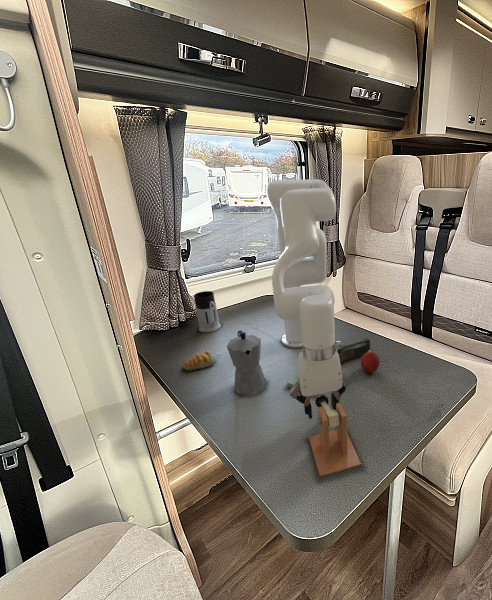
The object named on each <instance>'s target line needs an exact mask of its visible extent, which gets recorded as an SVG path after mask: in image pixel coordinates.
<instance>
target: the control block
mask: <svg viewBox="0 0 492 600" xmlns="http://www.w3.org/2000/svg"><path fill="white" fill-rule="evenodd" d="M297 381H298V372H297V373H296V374H295V375H293V377H292V378H290V379H289V380H288V381H287V382H286V385H287V387H288V388H290V389H291V388H292V387H293V386H294V385H295V384H296V382H297ZM299 391H300V392H301V389H300V390H299Z"/></svg>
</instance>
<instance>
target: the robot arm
mask: <svg viewBox="0 0 492 600" xmlns="http://www.w3.org/2000/svg"><path fill="white" fill-rule="evenodd" d="M265 193H266V199H267V201H268V203H269V205H270V207H271V209H272V211H273V213H274V216H275V218H276V225H277V226H276V227H277V238H278V247H279V252H280V254H281V255H279V257H278V259H277V260H276V262H275V264H274V267H273V270H272V276H271V286H272V295H273V303H274V309H275V313H276V314H277V317H279V318H280V319H282V320H283V323H284V334H283V335H282V336H281V343H282V344H283V345H284V346H286V347H288V348H294V349H295V348H296V349H297V348H301V349H302V351H300V352H299V354H298V361H297V373H298V381H297V382H296V384H295V385H294V386H293V387H292V388H291V387H290V389H289V391H288V393H289V395H288V396H289V397H290V398H292V399H295V400H297V401H298V403H300V404H303V409H304V410H303V411H304V414H305V415H306V416H308V419H309V420H312V419H313V411H312V410H313V409H312V404H311V400H312V397H313V396H319V395H324V394H327V393H331V394H330V403H331V404H330V405H331V408H332V410H336V403H340V399H341V397H342V395H343V394H344V393H345V391H346V390H347V389H348V388H349V387H350V386H351V384H352V380H351V379H350V378H349V377H348V376H346V375H345V374H344V373H343V372H342V366H341V365H342V364H341V362H340V359H339V355H338V352H337V350H338V348H340V347H342V341H341V340H336V337H335V336H336V332H335V329H336V328H335V294H334V291H333V290H332V289H331V288H330V286H328V285H325V284H321V283H324V282H325V281H326V279H327V273H328V272H327V270H328V269H327V268H328V267H327V265H328V263H327V261H328V259H327V258H328V257H327V256H328V243H327V237H326V234H325V232H324V230H322V229H321V228H317V222H330V221H332V220H334V218H335V216H336V213H337V201H336V197H335V194H334V192H333V190H332V189H331V187H330V186H329V184H327V182H325V180H322V179H317V178H312V179H308V178H307V179H279V180H273V181H270V182H268V183H267V185H266V188H265ZM300 389H301V391H300ZM299 391H300V392H299Z"/></svg>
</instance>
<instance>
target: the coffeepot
mask: <svg viewBox="0 0 492 600" xmlns="http://www.w3.org/2000/svg"><path fill="white" fill-rule="evenodd" d="M261 341H262V339H261V338H260V337H258V336H257V335H254V334H248V335H247V333H246V332H243V331H242V330H240V329H239V330H238V331H237V337H235V338H232V339H230V340H229V342H228V343H227V345H226V348H227V351H228V354H229V357H230V359H231V363H232V365H233V366H234V367H235V371H234V392H236V393H237V394H238V395H240V394H254V393H255V392H258V391H259V390H261V389H263V388H264V387H265V384H266V383H267V381H266V378H265V374H264V372H263V369H262V365H261V364H260V360H261V344H262V342H261Z"/></svg>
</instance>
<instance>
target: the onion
mask: <svg viewBox="0 0 492 600" xmlns="http://www.w3.org/2000/svg"><path fill="white" fill-rule="evenodd" d="M360 366H361V368H362V369H363V370H364V371H366V372H367V373H373V372H376V371H377V370H378V369H379V367H380V358H379V356H378V355H377V354H376V353H375V352H373V351H372V350H371V349H370V350H369V351H368V352H367V353H365V354H363V355H361V358H360Z"/></svg>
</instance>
